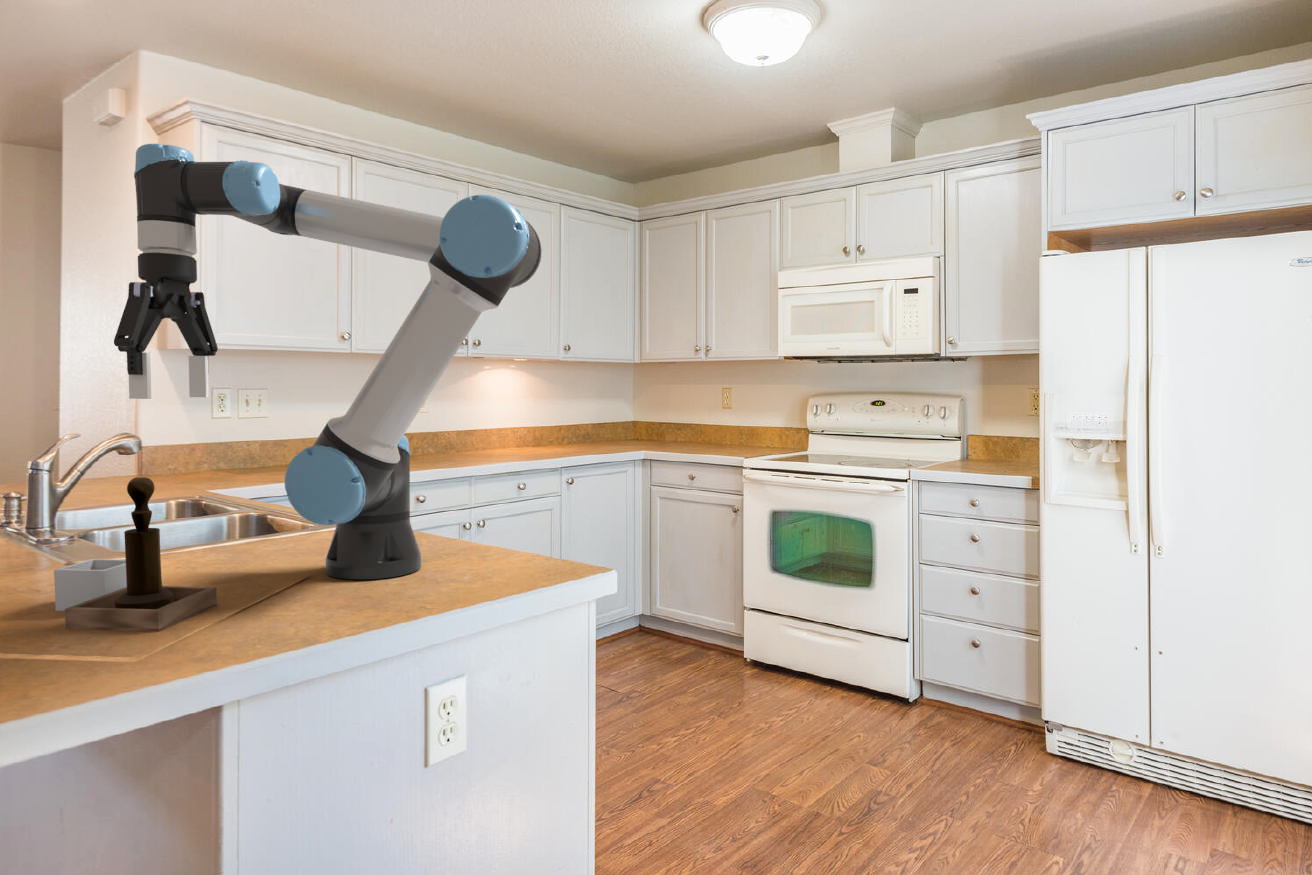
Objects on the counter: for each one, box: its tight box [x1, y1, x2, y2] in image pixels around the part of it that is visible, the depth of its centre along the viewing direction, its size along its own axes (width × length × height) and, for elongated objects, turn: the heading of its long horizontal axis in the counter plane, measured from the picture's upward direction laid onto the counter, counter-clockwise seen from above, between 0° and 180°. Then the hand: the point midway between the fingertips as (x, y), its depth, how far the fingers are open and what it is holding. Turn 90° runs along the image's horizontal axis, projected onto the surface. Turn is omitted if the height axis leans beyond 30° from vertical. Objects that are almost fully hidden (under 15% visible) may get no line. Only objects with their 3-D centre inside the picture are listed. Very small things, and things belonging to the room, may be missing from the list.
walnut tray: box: [64, 585, 218, 633], centre depth 107 cm, size 12×12×3 cm
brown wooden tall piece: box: [115, 476, 174, 609], centre depth 106 cm, size 7×6×18 cm
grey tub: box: [53, 558, 127, 612], centre depth 112 cm, size 7×7×6 cm
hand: (171, 398), depth 123 cm, fingers open, 13 cm apart
